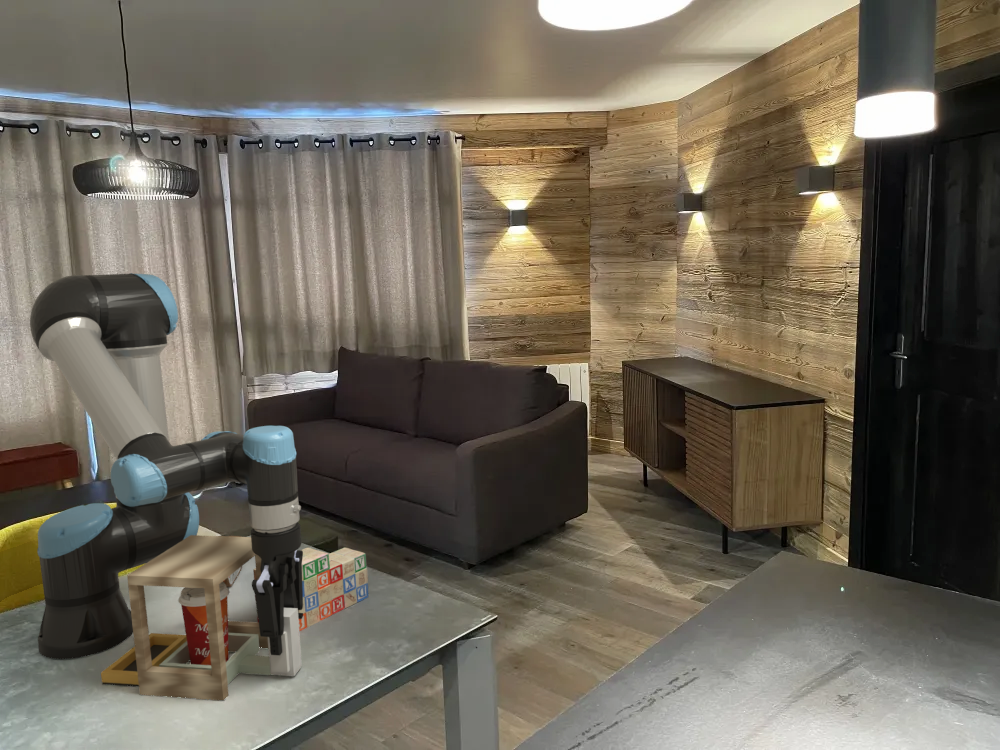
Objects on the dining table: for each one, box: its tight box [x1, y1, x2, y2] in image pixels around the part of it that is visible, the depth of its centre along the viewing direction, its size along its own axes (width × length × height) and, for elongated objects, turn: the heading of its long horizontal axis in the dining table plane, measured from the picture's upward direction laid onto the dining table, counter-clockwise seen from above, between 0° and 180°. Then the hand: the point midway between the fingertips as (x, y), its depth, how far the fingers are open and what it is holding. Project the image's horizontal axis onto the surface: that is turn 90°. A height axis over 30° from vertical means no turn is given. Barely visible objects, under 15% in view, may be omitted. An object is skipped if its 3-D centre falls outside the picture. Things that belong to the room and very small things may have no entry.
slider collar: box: [159, 608, 303, 685], centre depth 121 cm, size 21×11×10 cm, turn 81°
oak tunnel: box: [126, 534, 268, 701], centre depth 121 cm, size 14×17×20 cm
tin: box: [223, 535, 243, 588], centre depth 157 cm, size 15×3×8 cm, turn 6°
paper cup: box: [177, 582, 230, 665], centre depth 121 cm, size 8×8×14 cm
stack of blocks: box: [253, 547, 369, 632], centre depth 140 cm, size 21×6×12 cm, turn 142°
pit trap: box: [100, 632, 187, 688], centre depth 124 cm, size 7×13×2 cm, turn 171°
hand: (285, 664), depth 120 cm, fingers closed on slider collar, 3 cm apart
